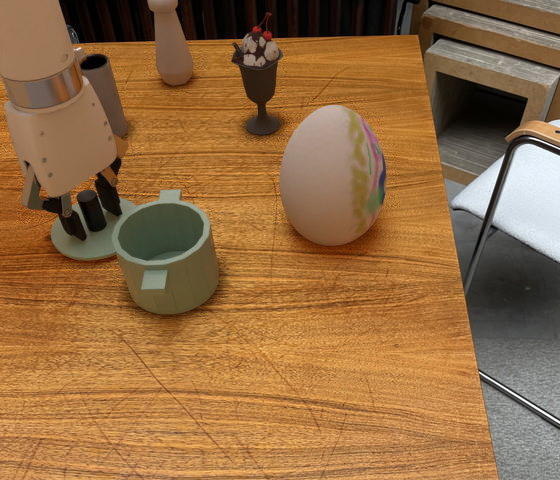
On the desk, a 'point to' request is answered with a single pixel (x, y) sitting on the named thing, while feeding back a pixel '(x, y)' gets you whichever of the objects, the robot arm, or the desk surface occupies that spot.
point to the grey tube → (105, 90)
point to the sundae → (259, 75)
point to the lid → (90, 229)
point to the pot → (167, 254)
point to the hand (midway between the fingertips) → (95, 222)
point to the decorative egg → (333, 176)
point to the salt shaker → (170, 43)
